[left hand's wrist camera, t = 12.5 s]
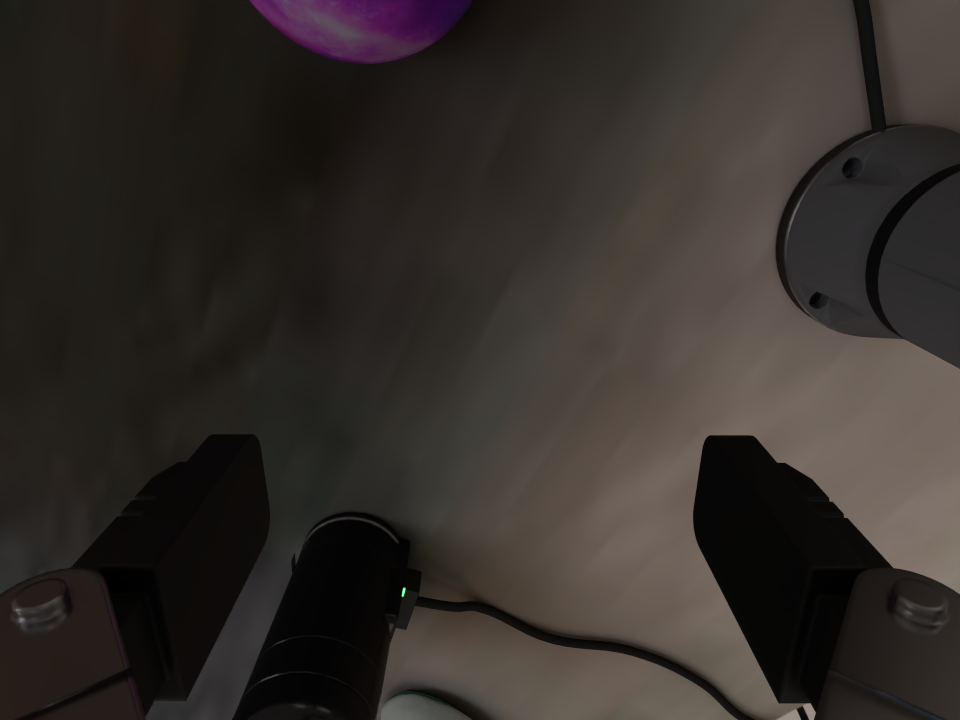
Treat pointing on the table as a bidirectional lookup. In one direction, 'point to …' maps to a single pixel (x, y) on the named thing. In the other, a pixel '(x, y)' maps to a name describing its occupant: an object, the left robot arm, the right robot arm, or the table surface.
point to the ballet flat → (419, 708)
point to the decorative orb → (363, 25)
